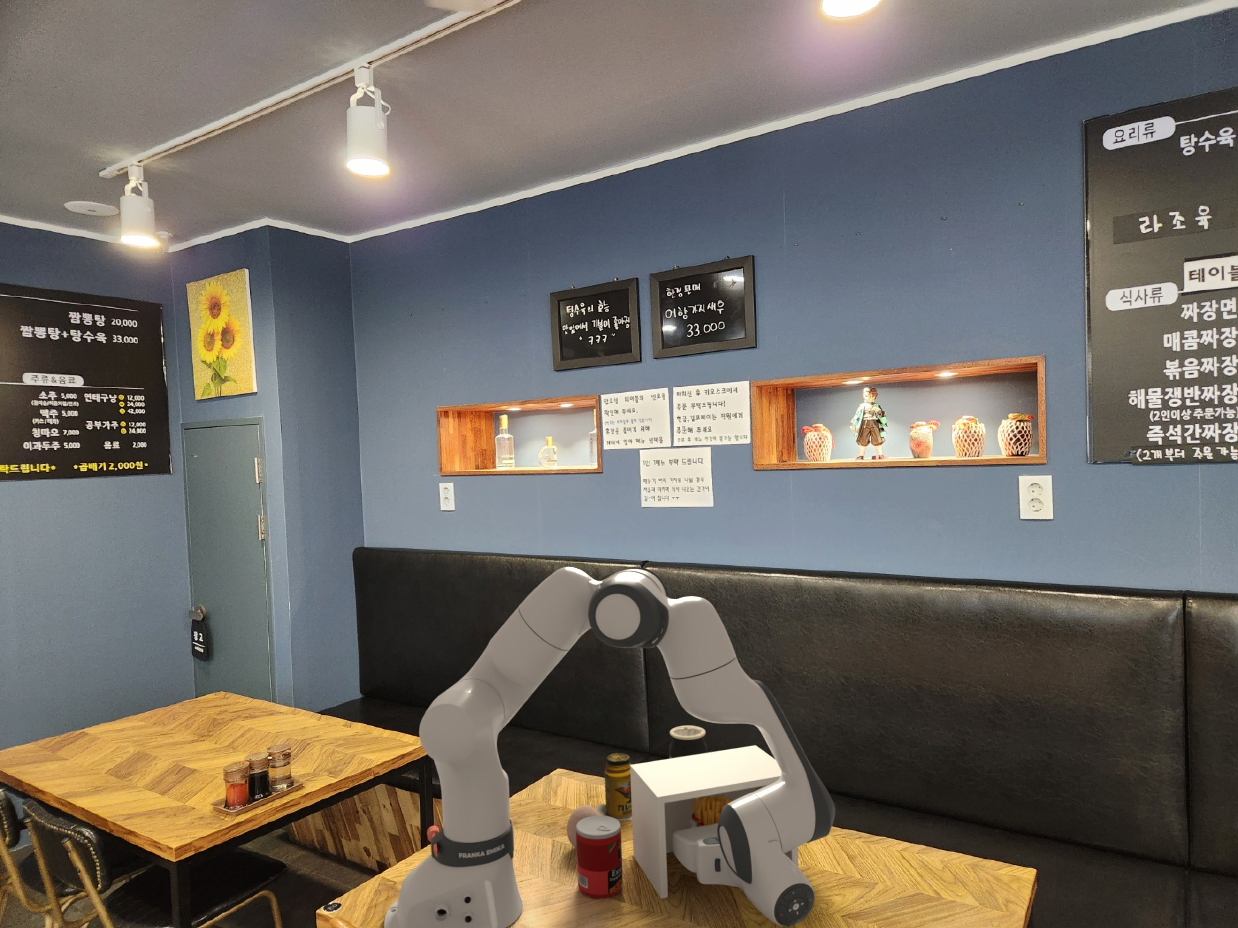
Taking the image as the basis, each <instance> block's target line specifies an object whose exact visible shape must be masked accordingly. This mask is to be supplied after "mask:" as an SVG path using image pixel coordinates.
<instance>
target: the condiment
mask: <svg viewBox="0 0 1238 928" xmlns="http://www.w3.org/2000/svg"><path fill="white" fill-rule="evenodd" d="M605 762H606V763H605V770H604V790H605V792H604V793H605V795H604V796H605V803H597V807H596V811H597V812H598V813H599V815H600V816H609V817H612V818H615V819H617V820H618V821H632V801H631V774H630V765H632V764H631V757H630V756H629V754H627V753H622V752H614V753H610V754H609V755H607V756H606V759H605Z"/></svg>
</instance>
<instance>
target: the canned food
mask: <svg viewBox="0 0 1238 928" xmlns="http://www.w3.org/2000/svg"><path fill="white" fill-rule="evenodd" d="M620 822H621V821H620V820H617V819H615V818H612V817H609V816H591V817H587V818H584V819H582V820H580V821H579V822H578V823H577V825H576V848H577V849H576V848H575V849H576V867H577V868H576V869H577V886H578V889H579V892H581V894H582V895H584V896H586V897H587V898H589V899H594V900H604V899H605V900H606V899H608V898H609V899H610V898H612V897H614V896H616V895H618V894H619V893H620V891H621V890H622V887H623V882H624V881H623V854H622V853H623V852H622V849H623V847H622V829H621V828H622V827H621V823H620Z"/></svg>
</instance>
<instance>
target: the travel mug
mask: <svg viewBox="0 0 1238 928" xmlns="http://www.w3.org/2000/svg"><path fill="white" fill-rule="evenodd" d="M669 734H670V736H671V743H670V745H669V747H668V749H669V750H668V751H669V759H672V758H678V757H685V756H691V755H697V754H704V753H709V752H708V745H707V743H706V741H705V735H706V730H705V729H704V728H703V727H700V726H696V725H680V726H676V727H674V728H671V730H669Z"/></svg>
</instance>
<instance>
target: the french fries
mask: <svg viewBox="0 0 1238 928" xmlns="http://www.w3.org/2000/svg"><path fill="white" fill-rule="evenodd" d="M732 801H733V800H732V799H730V798H727V797H726V800H725V799H724V796H722V795H721V796H719V795H716V796H715V797H711V796H707V799H706V796H702V797H699V805H698V804H697V803H696V798H693V808H694V812H693V815H692V820H694V819H697V820H699V821H700V822H701V826H705V825H710V824H716V823H719V818H720V815H721V812H722V810H723V808H724V806H725V805H726V804H729V803H730V802H732Z"/></svg>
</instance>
